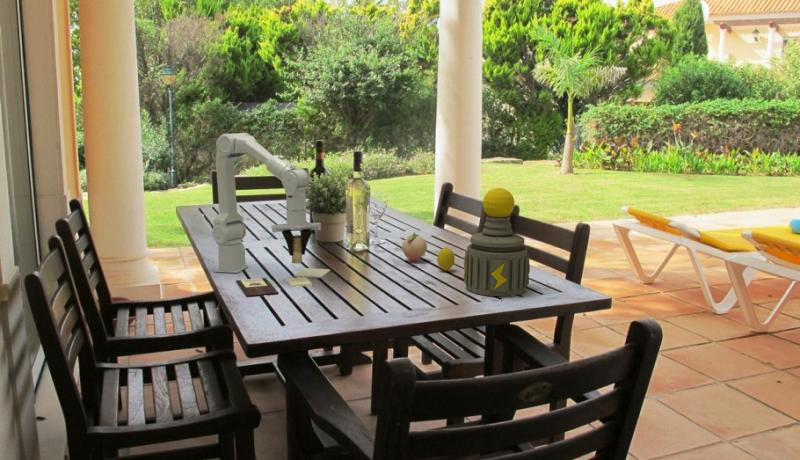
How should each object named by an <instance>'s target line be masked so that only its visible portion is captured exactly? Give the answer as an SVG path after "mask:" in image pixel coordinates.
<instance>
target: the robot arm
mask: <svg viewBox="0 0 800 460" xmlns="http://www.w3.org/2000/svg"><path fill="white" fill-rule="evenodd" d="M215 142H216V143H215V145H216V154H215V169H216V181H217V196H218V197H217V198H218V209H219V211H218V212H219V213H218V214H217V216H216V217H214V220H213V225H212V226H213V227H212V230H211V235H212V238H213V240H214V242H215V243H216V245H217V250H218V251H217V254H218V267H217V268H215V269H214V270H213V272H214V273H231V274H232V273H233V274H238V273H241V271H243V270H245V269H246V268H249V265H248V264H246V247H245V245H244V244H243V239H244V238H245V237H246V235H247V234H246V233H247V228H246V225H245V223H244V217H243V216H242V215H241V214H240V213H239V212H238V205H237V204H238V203H237V202H238V201H237V189H236V188H237V187H236V177H235V176H236V175H235V173H236V172H235V163H236V161H237V160H238V159H239V158H240V157H243V156H244V155H246V154H248V155H250V156H252V157H253V158H255V159H257V160H258V161H260V162H261V163H263V164H264V165H265V167H266V170H267V172H269V173H271V174H272V176H274V177H276V178H277V179H278V180H280V181H281V184H282V187H283V188H284V193H285V196H286V197H285V198H286V199H285V200H286V201H285V202H286V207H285V208H286V223H280V224H271V232H272V233H281V234H282V236H283V238H284V241H285V242H286V245H287V249H288V254H289V256H291V257H292V255H293V246H292V243H293V236H294V235H293V233H292V232H297V231H299V232H300V236H302V256H304V255H305V254H306V251H307V246H308V243H309V240H310V238H311V237H312V234H313V233H312V231H317V230H318V231H321V230H322V223H321V222H307V202H306V199H307V195H306V194H307V193H306V188H307V186H308V185H309V184H310V175H309V173H308V172H307V170H306V169H305V168H302V167H301V168H300V167H299V168H297V166H296V165H295V164H293V163H292V164H291V163H290V162H289V161H287V160H286V159H285V156H284V155H280V154H279V155H277V154H275V155H273V154H271V153H270V152H269V151H268V150H267V149H265V148H264V146H262V145H261V144H260V143H259V142H257V141H256V139H255V137H254V136H252V135H251V134H249V133H248V132H240V133H238V132H237V133H222V134H221V135H220V136H219V137H218V138H217V139H216V141H215Z"/></svg>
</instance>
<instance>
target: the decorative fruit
mask: <svg viewBox="0 0 800 460" xmlns="http://www.w3.org/2000/svg"><path fill="white" fill-rule="evenodd" d="M427 244H428V243H427V241H426V240H425V238H423V237H422V236H420V235H419V234H416V233H415V232H413V234H412V235H409V236H407V237H406V238H405V239H404V241H403V242H402V245H401V249H402V252H403V254H404V256H405V257H406V258H407V259H408V260H409V261H410V262H411V261H412V262H415V261H416V260H418V259H421V258H422V257H424V256H425V254H426V252H427V249H428V245H427Z"/></svg>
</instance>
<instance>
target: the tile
mask: <svg viewBox="0 0 800 460" xmlns="http://www.w3.org/2000/svg"><path fill="white" fill-rule="evenodd" d="M285 281H286V282H287V283H288V285H289V284H290V285H291V286H290V285H289V286H290V288H297V287H296V286H301V287H309V286H308V285H313V284H312V282H311V281H310V280H309V279H308V277H292V278H286V279H285Z"/></svg>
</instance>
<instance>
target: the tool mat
mask: <svg viewBox="0 0 800 460" xmlns="http://www.w3.org/2000/svg"><path fill="white" fill-rule="evenodd" d="M329 272H331V269H329V268H328V269H327V268H309V267H308V268H307V267H306V268H305V267H303V268H301V269H300V270H299V271H298V272H296V273H295V274H294V275H293V278H301V277H306V278H311V279H313V278H314V279H323V278H324V277H325V276H326V275H327V274H328V273H329Z"/></svg>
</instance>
